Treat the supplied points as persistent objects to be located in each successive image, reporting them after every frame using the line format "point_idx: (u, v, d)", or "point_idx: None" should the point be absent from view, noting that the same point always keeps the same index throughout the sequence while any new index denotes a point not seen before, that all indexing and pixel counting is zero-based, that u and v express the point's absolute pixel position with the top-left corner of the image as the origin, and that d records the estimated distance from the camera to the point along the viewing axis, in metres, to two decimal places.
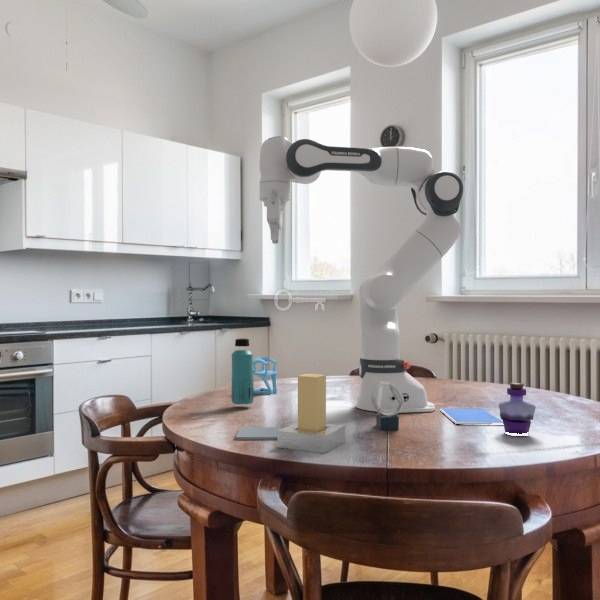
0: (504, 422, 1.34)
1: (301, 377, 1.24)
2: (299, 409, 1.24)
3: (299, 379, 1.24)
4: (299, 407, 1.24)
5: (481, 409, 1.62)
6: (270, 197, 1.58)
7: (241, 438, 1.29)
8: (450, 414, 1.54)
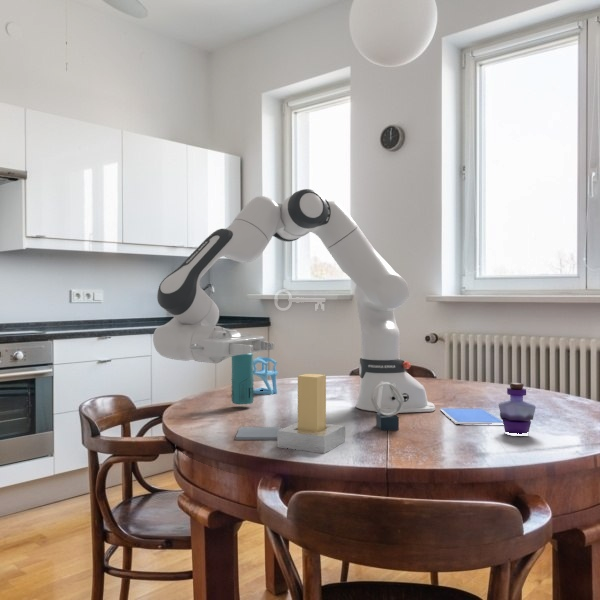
0: (504, 422, 1.34)
1: (301, 377, 1.24)
2: (299, 409, 1.24)
3: (299, 379, 1.24)
4: (299, 407, 1.24)
5: (481, 409, 1.62)
6: (197, 351, 1.28)
7: (241, 438, 1.29)
8: (450, 414, 1.54)
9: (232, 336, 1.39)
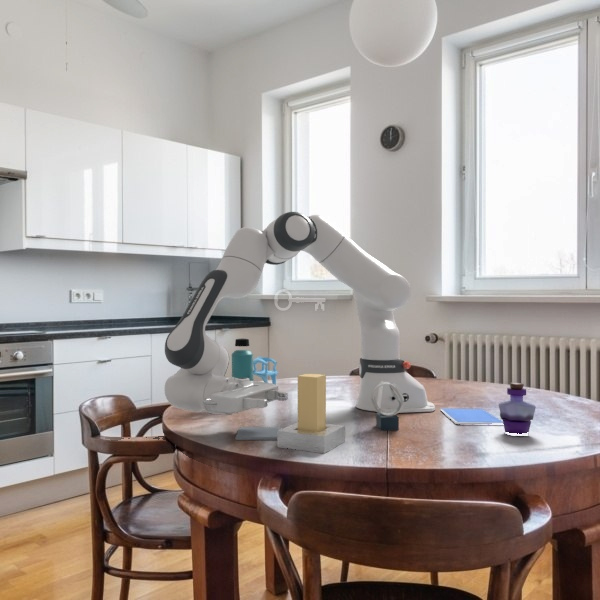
0: (504, 422, 1.34)
1: (301, 377, 1.24)
2: (299, 409, 1.24)
3: (299, 379, 1.24)
4: (299, 407, 1.24)
5: (481, 409, 1.62)
6: (211, 406, 1.26)
7: (241, 438, 1.29)
8: (450, 414, 1.54)
9: (245, 386, 1.37)
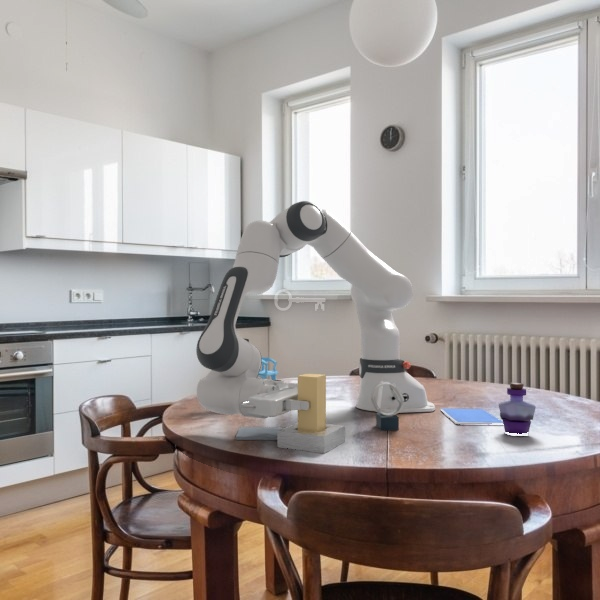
0: (504, 422, 1.34)
1: (301, 377, 1.24)
2: None
3: (299, 379, 1.24)
4: None
5: (481, 409, 1.62)
6: (248, 409, 1.22)
7: (241, 438, 1.29)
8: (450, 414, 1.54)
9: (280, 388, 1.33)
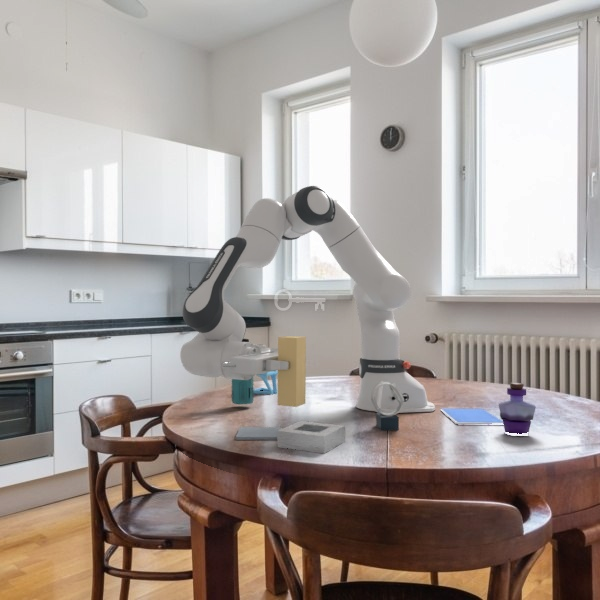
0: (504, 422, 1.34)
1: (281, 338, 1.27)
2: (279, 370, 1.27)
3: (279, 340, 1.27)
4: None
5: (481, 409, 1.62)
6: (229, 369, 1.25)
7: (241, 438, 1.29)
8: (451, 414, 1.54)
9: (262, 352, 1.36)
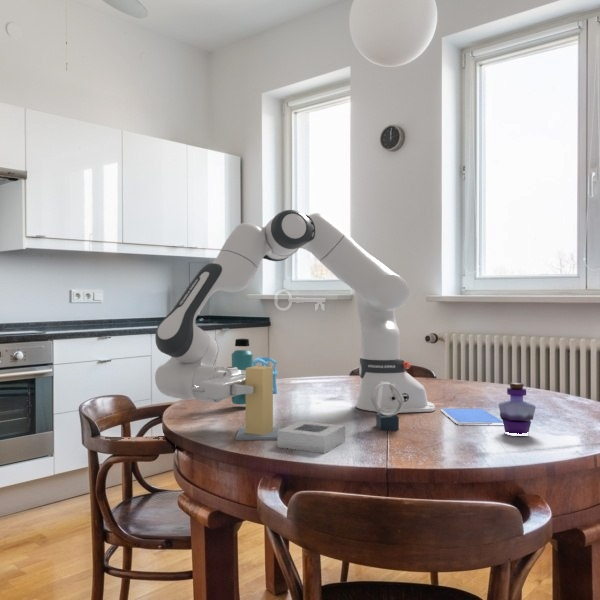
0: (504, 422, 1.34)
1: (248, 369, 1.33)
2: (247, 399, 1.33)
3: (247, 371, 1.33)
4: (247, 397, 1.33)
5: (481, 409, 1.62)
6: (199, 393, 1.31)
7: (241, 438, 1.29)
8: (451, 414, 1.54)
9: (232, 375, 1.41)
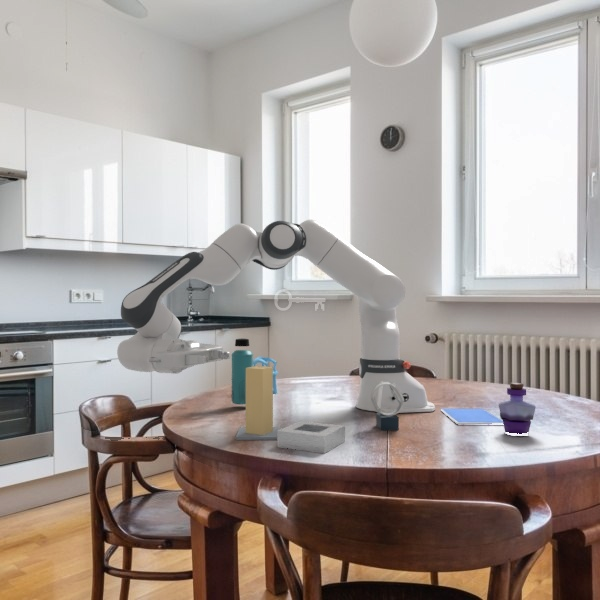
0: (504, 422, 1.34)
1: (248, 369, 1.33)
2: (247, 399, 1.33)
3: (247, 371, 1.33)
4: (247, 397, 1.33)
5: (481, 409, 1.62)
6: (156, 363, 1.36)
7: (241, 438, 1.29)
8: (451, 414, 1.54)
9: (191, 347, 1.47)
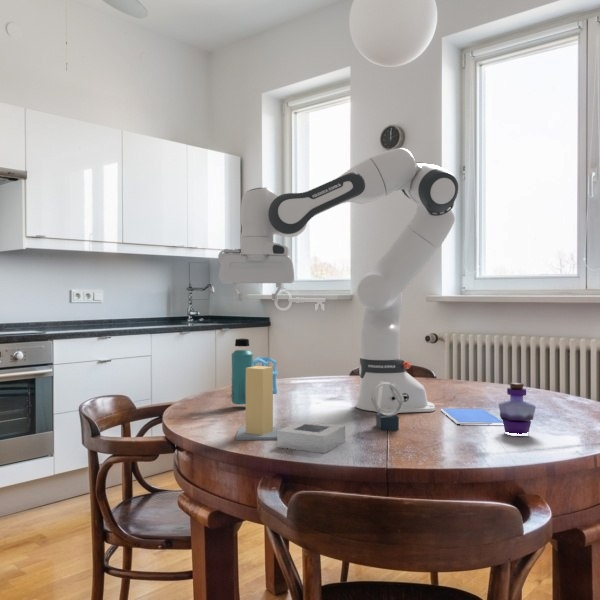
0: (504, 422, 1.34)
1: (248, 369, 1.33)
2: (247, 399, 1.33)
3: (247, 371, 1.33)
4: (247, 397, 1.33)
5: (481, 409, 1.62)
6: None
7: (241, 438, 1.29)
8: (451, 414, 1.54)
9: (269, 261, 1.53)
